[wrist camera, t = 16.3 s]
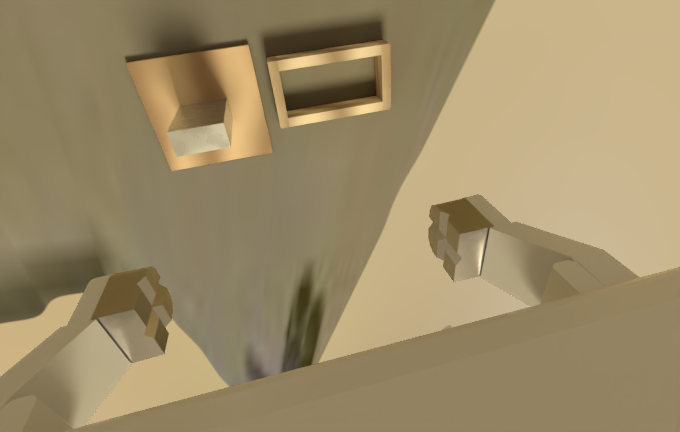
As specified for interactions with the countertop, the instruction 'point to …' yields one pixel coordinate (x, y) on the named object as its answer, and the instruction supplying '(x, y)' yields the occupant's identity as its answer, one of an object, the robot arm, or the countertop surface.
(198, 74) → the cork mat
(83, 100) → the countertop surface
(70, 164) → the countertop surface
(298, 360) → the countertop surface
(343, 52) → the birch box
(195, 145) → the grey block
